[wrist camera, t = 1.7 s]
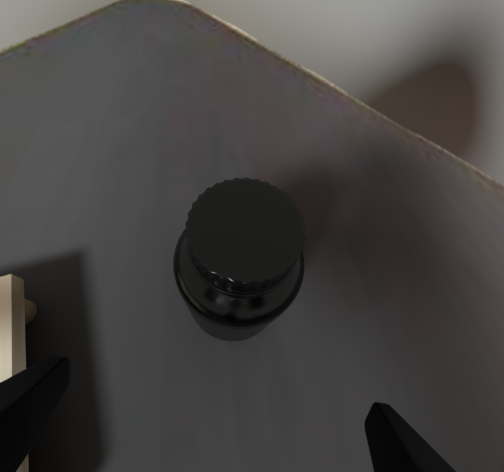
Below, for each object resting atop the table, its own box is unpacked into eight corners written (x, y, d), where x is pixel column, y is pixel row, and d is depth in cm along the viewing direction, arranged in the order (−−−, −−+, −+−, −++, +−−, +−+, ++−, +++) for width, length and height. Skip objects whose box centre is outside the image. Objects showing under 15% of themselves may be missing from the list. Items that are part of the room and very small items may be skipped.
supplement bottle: (257, 246, 23) (293, 145, 12) (287, 323, 21) (366, 279, 10) (178, 269, 21) (142, 175, 11) (201, 356, 19) (184, 346, 8)
